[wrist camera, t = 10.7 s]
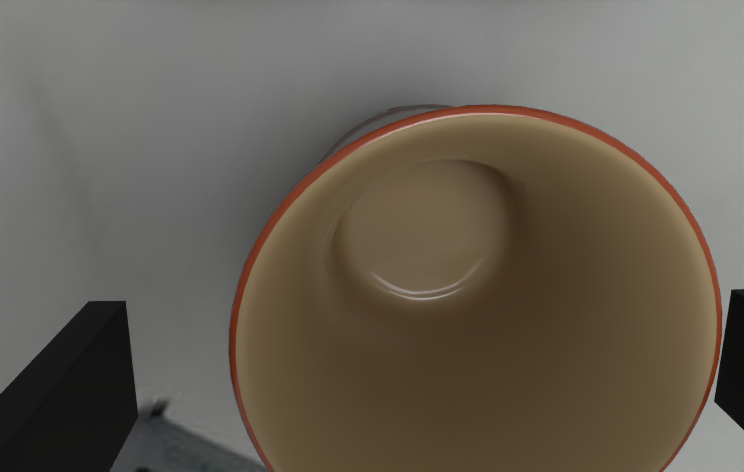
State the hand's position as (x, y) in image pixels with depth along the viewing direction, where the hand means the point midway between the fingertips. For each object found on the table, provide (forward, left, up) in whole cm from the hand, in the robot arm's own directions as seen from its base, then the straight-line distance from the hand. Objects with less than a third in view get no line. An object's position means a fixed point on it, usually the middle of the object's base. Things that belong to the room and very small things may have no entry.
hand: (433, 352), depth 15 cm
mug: (0, 0, -8) cm, 8 cm away
